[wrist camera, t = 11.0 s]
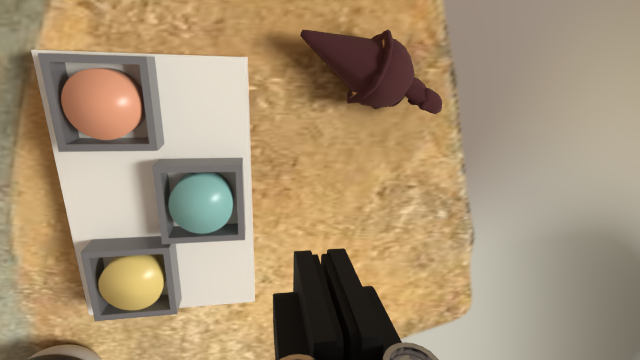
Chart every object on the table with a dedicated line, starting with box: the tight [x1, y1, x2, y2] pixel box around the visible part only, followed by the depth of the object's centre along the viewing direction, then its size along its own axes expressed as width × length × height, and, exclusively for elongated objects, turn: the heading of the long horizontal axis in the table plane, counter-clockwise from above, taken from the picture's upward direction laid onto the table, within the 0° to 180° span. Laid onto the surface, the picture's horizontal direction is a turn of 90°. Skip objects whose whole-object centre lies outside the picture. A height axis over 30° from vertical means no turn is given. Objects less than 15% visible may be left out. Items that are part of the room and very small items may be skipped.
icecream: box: [300, 30, 442, 114], centre depth 33 cm, size 7×7×15 cm
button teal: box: [169, 172, 234, 234], centre depth 34 cm, size 6×6×2 cm
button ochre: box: [98, 254, 166, 310], centre depth 35 cm, size 6×6×2 cm
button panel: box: [31, 50, 255, 321], centre depth 34 cm, size 26×17×6 cm, turn 178°
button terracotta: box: [61, 68, 146, 140], centre depth 29 cm, size 6×6×2 cm
